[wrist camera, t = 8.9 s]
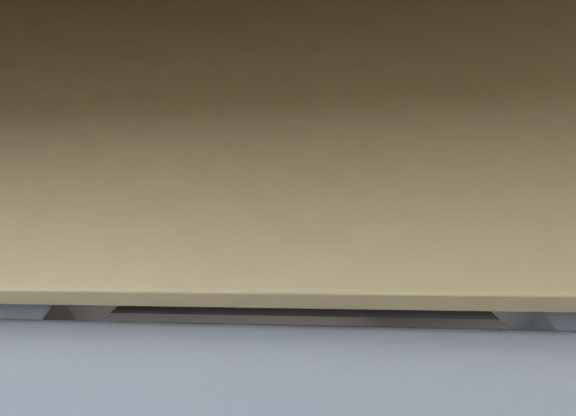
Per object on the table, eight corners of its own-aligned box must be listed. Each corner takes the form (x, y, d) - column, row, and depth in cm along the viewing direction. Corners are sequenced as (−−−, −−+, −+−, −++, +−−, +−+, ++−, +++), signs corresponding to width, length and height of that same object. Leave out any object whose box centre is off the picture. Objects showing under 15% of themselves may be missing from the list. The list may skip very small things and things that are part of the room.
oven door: (662, -227, 12) (1165, 302, 5) (548, -3, 18) (690, 365, 11) (-11, -141, 14) (-332, 287, 7) (96, 29, 20) (-20, 345, 13)
